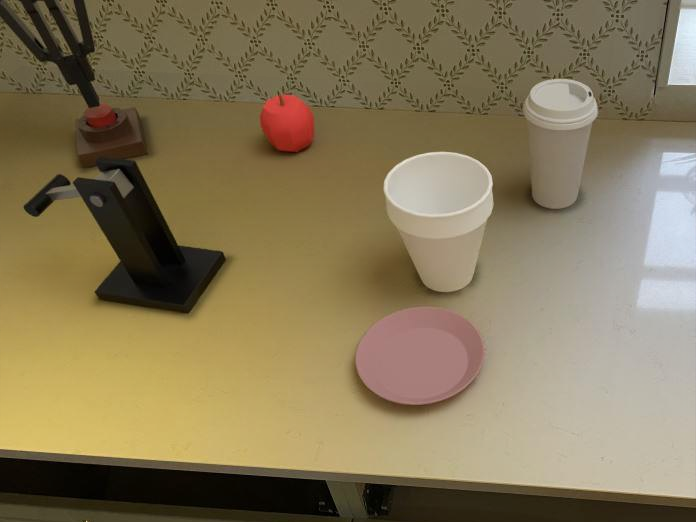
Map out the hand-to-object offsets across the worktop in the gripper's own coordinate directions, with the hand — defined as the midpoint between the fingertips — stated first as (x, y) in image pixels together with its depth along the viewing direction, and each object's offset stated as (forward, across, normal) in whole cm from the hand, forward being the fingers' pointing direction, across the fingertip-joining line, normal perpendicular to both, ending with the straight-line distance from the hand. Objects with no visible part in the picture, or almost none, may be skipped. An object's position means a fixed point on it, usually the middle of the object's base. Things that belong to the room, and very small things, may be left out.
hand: (93, 102), depth 97 cm
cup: (+7, +36, -50) cm, 62 cm away
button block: (+7, 0, 0) cm, 7 cm away
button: (+3, 0, 0) cm, 3 cm away
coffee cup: (+7, +56, -41) cm, 70 cm away
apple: (+7, +26, -12) cm, 29 cm away
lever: (-5, 0, -33) cm, 34 cm away
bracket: (+7, +3, -36) cm, 37 cm away
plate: (+7, +28, -63) cm, 69 cm away
